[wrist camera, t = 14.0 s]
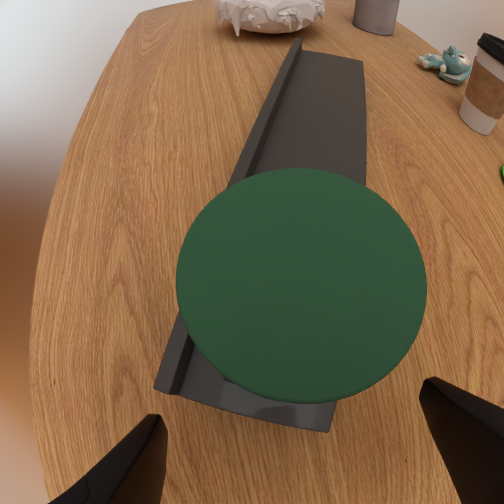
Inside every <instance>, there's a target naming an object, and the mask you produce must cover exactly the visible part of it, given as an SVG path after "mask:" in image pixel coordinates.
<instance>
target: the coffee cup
mask: <svg viewBox="0 0 504 504" xmlns="http://www.w3.org/2000/svg"><path fill="white" fill-rule="evenodd" d="M477 44H478V46H479V48H478V52H477V56H476V57H475V59H474V63H473V67H472V71H471V74H470V78H469V82H468V85H467V89H466V92H465V96H464V99H463V102H462V105H461V108H460V111H459V115H460V117H461V119H462V120H463V121H464V122H465V123H466V124H467V125H468V126H469V127H470V128H472V129H473V130H474V131H476V132H478V133H480V134H482V135H489V134H490V132H491V131H492V129H493V128H494V126H495V125H496V123H497V122H498V120H499V119H500V118H501V116H502V115H503V114H504V40H501V39H499V38H497V37H495V36H493V35H490V34H487V33H483V35H482V36H481V38H480V39H479V40H478V42H477Z"/></svg>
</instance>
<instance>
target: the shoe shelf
mask: <svg viewBox="0 0 504 504" xmlns="http://www.w3.org/2000/svg"><path fill="white" fill-rule="evenodd" d="M284 168H309V169H317V170H323V171H328V172H332V173H335V174H339V175H342V176H344V177H347V178H350V179H352V180H354V181H356V182H358V183H360V184H362V185H364V186H366V102H365V83H364V69H363V61H359V60H355V59H350V58H346V57H341V56H336V55H330V54H325V53H319V52H313V51H306V50H302V38H295V40H294V42H293V44H292V46H291V48H290V50H289V52H288V54H287V56H286V58H285V60H284V62H283V64H282V66H281V68H280V70H279V72H278V74H277V76H276V79H275V81H274V83H273V85H272V87H271V89H270V91H269V93H268V95H267V98H266V100H265V102H264V104H263V106H262V108H261V111H260V113H259V115H258V117H257V119H256V122H255V124H254V126H253V128H252V130H251V133H250V135H249V137H248V139H247V142H246V144H245V146H244V148H243V151H242V153H241V155H240V158H239V160H238V162H237V165H236V167H235V169H234V172H233V174H232V176H231V179H230V181H229V183H228V186H227V188H228V187H230V186H231V185H233V184H235V183H237V182H239V181H241V180H243V179H245V178H248V177H250V176H253V175H256V174H259V173H263V172H267V171H271V170H277V169H284ZM227 188H226V189H227ZM223 377H224V376H223V375H222V374H221V373H220V372H219V371H218V370H216V369H215V368H214V367H213V366H212V365H211V364H210V363H209V362H208V361H207V360H206V358H205V357H204V356H203V355H202V354H201V352H200V351H199V350H198V349H197V347H196V345H195V344H194V342H193V340H192V339H191V337H190V335H189V334H188V331H187V329H186V327H185V324H184V322H183V319H182V317H181V313H180V310H179V312H178V315H177V318H176V321H175V324H174V327H173V330H172V332H171V335H170V338H169V341H168V344H167V347H166V350H165V353H164V356H163V359H162V362H161V365H160V368H159V371H158V374H157V377H156V380H155V383H154V387H153V388H154V389H155V390H158V391H160V392H163V393H166V394H169V395H179V396H181V397H184V398H187V399H190V400H193V401H196V402H199V403H202V404H205V405H208V406H212V407H215V408H218V409H222V410H225V411H228V412H232V413H236V414H239V415H243V416H247V417H251V418H255V419H259V420H263V421H267V422H272V423H276V424H281V425H285V426H290V427H295V428H301V429H306V430H312V431H318V432H325V433H328V432H329V430H330V426H331V422H332V418H333V415H334V411H335V406H336V402H337V401H332V402H325V403H318V404H294V403H287V402H280V401H275V400H271V399H267V398H264V397H261V396H258V395H256V394H254V393H252V392H250V391H248V390H246V389H243V388H241V387H239V386H238V385H236V384H235V383H231V382H228V381H225V380H223Z"/></svg>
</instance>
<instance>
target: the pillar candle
mask: <svg viewBox="0 0 504 504" xmlns="http://www.w3.org/2000/svg"><path fill="white" fill-rule="evenodd" d="M398 6H399V0H356V3H355V11H354V18H353V24H354V26H356V27H358V28H360V29H362V30H365V31H368V32H371V33H375V34H379V35H392V34H393V31H394V26H395V21H396V17H397V12H398Z"/></svg>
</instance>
